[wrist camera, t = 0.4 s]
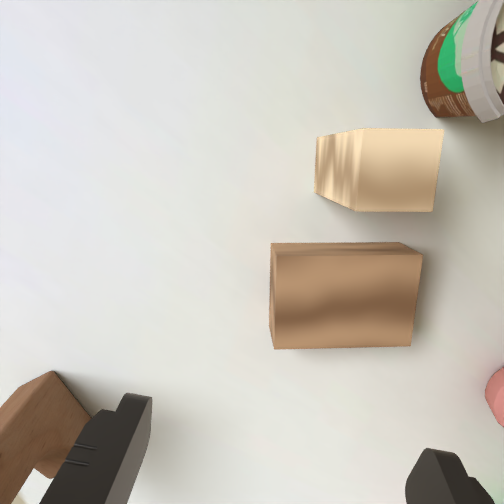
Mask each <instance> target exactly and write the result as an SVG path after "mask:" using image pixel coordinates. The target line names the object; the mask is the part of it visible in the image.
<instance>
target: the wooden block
mask: <svg viewBox="0 0 504 504" xmlns="http://www.w3.org/2000/svg"><path fill="white" fill-rule="evenodd" d="M90 419H91V417H90V416H89V415H88V414H87V412H86V411H85V410H84V409H83V407H82V406H81V405H80V404H79V402H78V401H77V400H76V399H75V397H74V396H73V395H72V394H71V392H70V391H69V390H68V389H67V387H66V386H65V385H64V384H63V382H62V381H61V380H60V379H59V377H58V376H57V375H56V374H55V372H53V371H49V372H47V373H45V374H43V375H41V376H40V377H38V378H36V379H34V380H32V381H30V382H28V383H26V384H24V385H22V386H20V387H19V388H18V389H17V390H16V391H15V392H14V393H13V394H12V395H11V396H10V398H9V399H8V400H7V401H6V402H5V403H4V404H3V405H2V406H1V407H0V504H11V503H12V501H13V500H14V498H15V497H16V495H17V494H18V492H19V491H20V489H21V487H22V486H23V484H24V483H25V481H26V479H27V478H28V476H29V475H30V473H31V472H32V470H33V468H35V469H36V470H37V471H39V472H40V473H41V474H43V475H44V476H45V477H47V478H49V479H52V478H54V477H55V476H56V474H57V472H58V470H59V469H60V467H61V465H62V464H63V463H64V462H65V458H66V457H67V455H68V453H69V451H70V450H71V448H72V447H73V446H74V443H75V441H76V439H77V438H78V436H79V434H80V432H81V431H82V429H83V427H84V426H85V424H86V423H87V422H88V421H89V420H90Z"/></svg>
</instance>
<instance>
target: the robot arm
mask: <svg viewBox="0 0 504 504" xmlns="http://www.w3.org/2000/svg"><path fill="white" fill-rule="evenodd" d="M151 414H152V397H148V396H143V395H137V394H132V393H126V394H125V395H124V396H123V398H122V400H121V402H120V404H119V406H118V408H117V410H116V412H114V411H109V410H103V409H102V410H101V411H99V412H98V413H97V414H96V415H95V416H94V417H93V418H92V419H90V420H89V421H88V422H87V423H86V424H85V426H84V427H83V429H82V431H81V432H80V434H79V436H78V438H77V439H76V441H75V443H74V446H73V447H72V448H71V450H70V451H69V453H68V455H67V457H66V458H65V462H64V463H63V464H62V465H61V467H60V469H59V470H58V472H57V474H56V476H55V477H54V479H53V481H52V483H51V484H50V486H49V488H48V489H47V491H46V493H45V495H44V496H43V498H42V500H41V502H40V503H39V504H127V502H128V499H129V496H130V494H131V491H132V488H133V485H134V483H135V480H136V477H137V475H138V472H139V469H140V467H141V464H142V461H143V458H144V456H145V453H146V450H147V446H148V442H149V437H150V430H151ZM405 495H406V502H407V504H495V503H494V501H493V499H492V498H491V496H490V495H489V494H488V493H487V492H486V490H485V489H484V488H483V487H482V486H481V484H480V483H479V482H478V481H477V480H476V478H473V477H468V475H467V473H466V470H465V468H464V466H463V464H462V462H461V460H460V458H459V457H458V456H457V455H456V454H455V453H452V452H447V451H441V450H436V449H430V448H426V449H424V450H423V452H422V454H421V455H420V457H419V459H418V461H417V462H416V464H415V466H414V468H413V469H412V471H411V473H410V475H409V476H408V478H407V481H406V486H405Z"/></svg>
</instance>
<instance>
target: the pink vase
mask: <svg viewBox="0 0 504 504" xmlns="http://www.w3.org/2000/svg"><path fill="white" fill-rule="evenodd" d="M485 398H486V400H487V403H488V405H489V407H490V408H491V410H492V412H493V414H494V416H495V418H496V420H497V421H498V423H499V424H500V425H502V426H503V427H504V367H503V368H502V369H500V370H499V371H497V372H496V373H495V374H494V375H493V376H492V378H491V379H490V380H489V382H488V384H487V387H486V389H485Z"/></svg>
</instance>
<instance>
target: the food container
mask: <svg viewBox="0 0 504 504" xmlns="http://www.w3.org/2000/svg"><path fill="white" fill-rule="evenodd" d="M420 81H421V90H422V94H423V97H424V100H425V102H426V105H427V106H428V108H429V110H430V111H431V112H432V113H433V115H434V116H435V117H459V116H477V117H478V119H479V120H480V121H481V122H482V123H484V122H487V121H491V120H494V119H497V118H499V117H500V116H501V115H504V0H479V1H478V2H476V3H475V4H474V5H472V6H471V7H470V8H468V9H467V10H466V11H464V12H463V13H462V14H461V15H459V16H458V17H457V18H455V19H454V20H453V21H451V22H450V23H449V24H447V25H446V26H445V27H443V28H442V29H441V30H440V31H439V32H438V33H437V34H436V36H435V37H434V38H433V40H432V41H431V43H430V45H429V46H428V48H427V50H426V53H425V55H424V58H423V62H422V66H421V76H420Z"/></svg>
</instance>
